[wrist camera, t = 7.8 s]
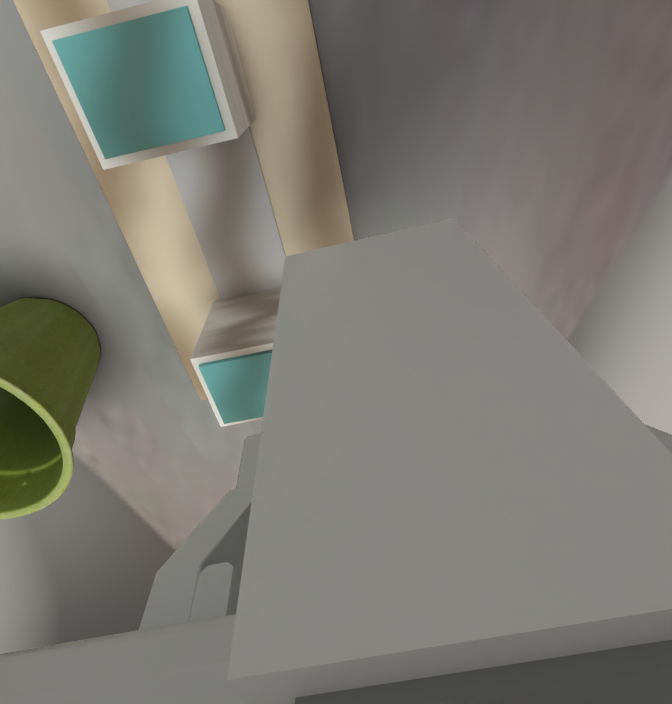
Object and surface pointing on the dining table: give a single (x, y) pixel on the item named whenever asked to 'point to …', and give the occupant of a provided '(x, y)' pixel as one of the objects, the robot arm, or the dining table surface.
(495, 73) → the dining table surface
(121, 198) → the board
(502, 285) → the block
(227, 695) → the robot arm
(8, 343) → the plant pot
